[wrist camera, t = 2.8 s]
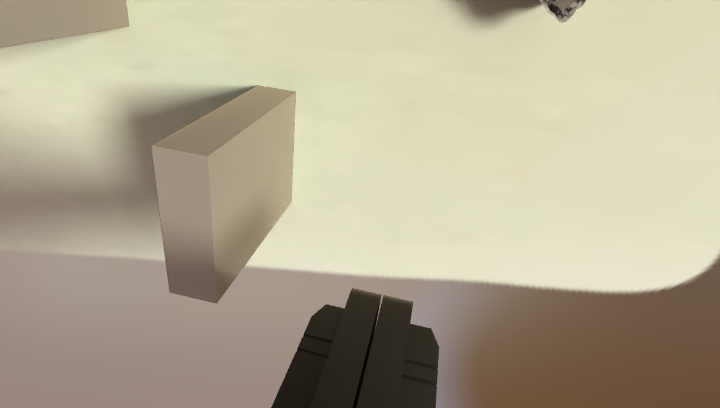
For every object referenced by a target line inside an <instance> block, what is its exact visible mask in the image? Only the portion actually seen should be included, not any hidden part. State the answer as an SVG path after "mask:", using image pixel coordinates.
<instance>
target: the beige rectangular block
mask: <svg viewBox="0 0 720 408" xmlns="http://www.w3.org/2000/svg"><path fill="white" fill-rule="evenodd" d="M295 103H296V92H294V91H288V90H282V89H276V88H270V87H264V86H258V85H257V86H256V87H254V88H252V89H250V90H249V91H247V92H245V93H243V94H242V95H240V96H238V97H236V98H234V99H233V100H231V101H229V102H227V103H226V104H224V105H222V106H220V107H218V108H217V109H215V110H213V111H211V112H210V113H208V114H206V115H204V116H202V117H201V118H199V119H197V120H195V121H194V122H192V123H190V124H188V125H186V126H185V127H183V128H181V129H179V130H178V131H176V132H174V133H172V134H170V135H169V136H167V137H165V138H163V139H162V140H160V141H158V142H156V143H154V144H153V145H151V150H152V158H153V166H154V174H155V182H156V189H157V197H158V205H159V213H160V221H161V229H162V237H163V245H164V253H165V260H166V268H167V276H168V283H169V291H170V292H171V293H175V294H179V295H183V296H188V297H191V298H196V299H200V300H204V301H208V302H213V303H218V301H219V300H220V298H221V297H222V295H223V294H224V293H225V292H226V290H227V289H228V287H229V286H230V285H231V283H232V282H233V281H234V279H235V278H236V277H237V275H238V274H239V272H240V271H241V270H242V269H243V267H244V266H245V264H246V263H247V262H248V260H249V259H250V258H251V256H252V255H253V254H254V252H255V251H256V249H257V248H258V247H259V245H260V244H261V243H262V241H263V240H264V239H265V237H266V236H267V234H268V233H269V232H270V230H271V229H272V228H273V226H274V225H275V224H276V222H277V221H278V220H279V218H280V217H281V215H282V214H283V213H284V211H285V210H286V209H287V207H288V206H289V205H290V203H291V200H292V176H293V152H294V127H295Z"/></svg>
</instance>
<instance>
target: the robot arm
mask: <svg viewBox="0 0 720 408" xmlns="http://www.w3.org/2000/svg"><path fill="white" fill-rule="evenodd" d="M380 300H381V295H380V294H376V293H371V292H366V291H363V290H358V289H354V288H352V290H351V292H350V295H349V298H348V301H347V303H346V307H345V309H343V308H340V307H335V306H331V305H325V306H324V307H323V308H321V309H320V310H319V311H318V312H317V313H315V314H314V315H313V316H312V317H311V319H310V321H309V324H308V326H307V328H306V330H305V333H304V336H303V338H302V339H301V342H300V344H299V346H298V349H297V352H296V353H295V355H294V358H293V360H292V362H291V364H290V367H289V369H288V371H287V373H286V376H285V378H284V381H283V383H282V385H281V387H280V389H279V392H278V394H277V396H276V399H275V401H274V403H273V405H272V407H271V408H435V406H436V389H437V386H436V384H437V373H438V370H437V368H438V356H439V346H438V344H437V341H436V339H435V337H434V334H433V332H432V330H431V329H430V328H426V327H422V326H417V325H413V324H410V320H411V313H412V306H413V302H411V301H406V300H403V299H398V298H393V297H390V296H385V295H384V296H383V300H382V304H381V308H380V313H379V316H378V311H379V305H380ZM377 317H378V321H377ZM376 322H377V325H376ZM375 328H376V329H375Z"/></svg>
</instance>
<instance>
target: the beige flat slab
mask: <svg viewBox="0 0 720 408" xmlns="http://www.w3.org/2000/svg"><path fill="white" fill-rule="evenodd" d="M127 26H129V19H128V12H127V4H126V0H0V48H4V47H10V46H16V45H22V44H27V43H33V42H39V41H45V40H51V39H57V38H63V37H69V36H74V35H80V34H86V33H92V32H98V31H104V30H110V29H116V28H121V27H127Z"/></svg>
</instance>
